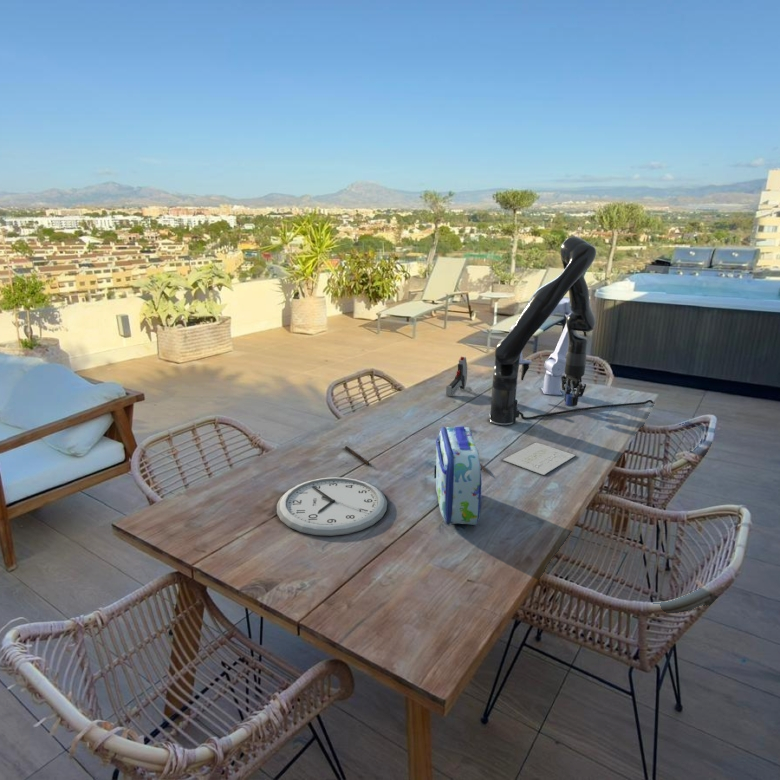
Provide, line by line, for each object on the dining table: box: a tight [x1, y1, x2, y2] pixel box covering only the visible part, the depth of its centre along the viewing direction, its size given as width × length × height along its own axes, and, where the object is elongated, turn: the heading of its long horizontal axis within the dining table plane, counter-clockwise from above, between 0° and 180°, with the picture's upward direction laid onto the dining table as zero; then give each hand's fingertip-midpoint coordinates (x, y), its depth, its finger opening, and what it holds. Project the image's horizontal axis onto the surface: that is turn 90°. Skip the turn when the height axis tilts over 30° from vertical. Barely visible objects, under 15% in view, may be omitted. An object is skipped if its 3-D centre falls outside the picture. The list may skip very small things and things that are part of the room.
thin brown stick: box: [344, 445, 370, 465], centre depth 173 cm, size 15×1×1 cm, turn 34°
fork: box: [480, 463, 488, 474], centre depth 169 cm, size 3×16×2 cm, turn 15°
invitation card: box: [502, 442, 577, 476], centre depth 174 cm, size 21×1×15 cm
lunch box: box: [433, 425, 482, 526], centre depth 140 cm, size 26×11×21 cm, turn 179°
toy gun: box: [445, 356, 468, 397], centre depth 239 cm, size 2×16×15 cm
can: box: [564, 393, 573, 407], centre depth 212 cm, size 4×4×4 cm
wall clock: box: [276, 476, 388, 537], centre depth 142 cm, size 30×2×30 cm
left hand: (570, 403), depth 213 cm, fingers closed on can, 4 cm apart
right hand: (513, 379), depth 241 cm, fingers open, 7 cm apart
